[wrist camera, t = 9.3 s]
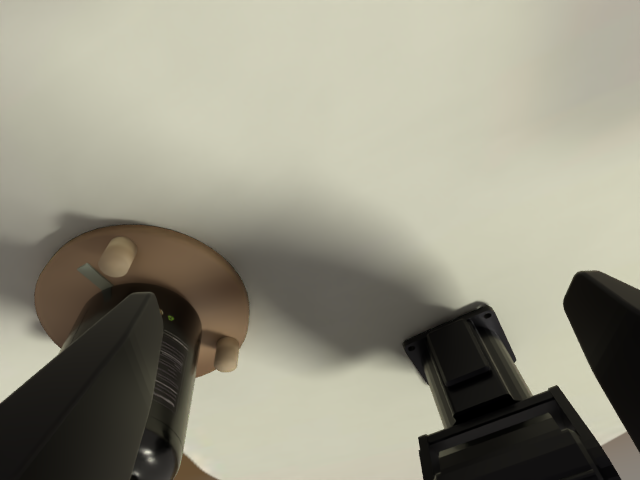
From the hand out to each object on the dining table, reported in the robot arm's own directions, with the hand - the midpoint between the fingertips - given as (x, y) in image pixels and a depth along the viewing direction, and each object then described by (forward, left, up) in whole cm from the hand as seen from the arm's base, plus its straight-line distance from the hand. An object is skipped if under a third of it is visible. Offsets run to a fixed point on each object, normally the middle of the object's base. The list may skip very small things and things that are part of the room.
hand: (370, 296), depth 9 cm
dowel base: (-5, +15, -13) cm, 21 cm away
